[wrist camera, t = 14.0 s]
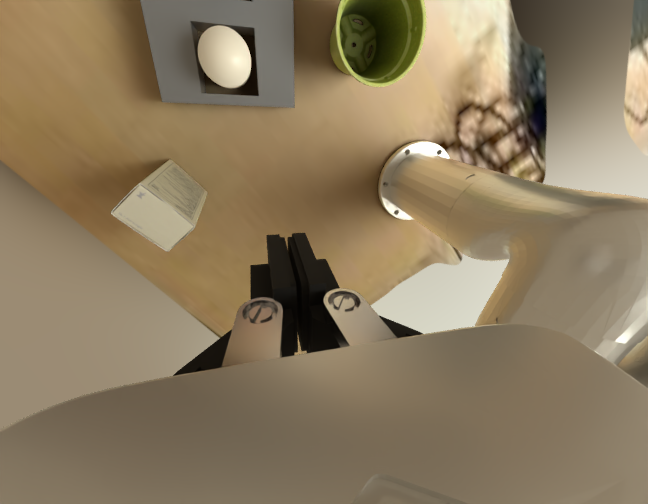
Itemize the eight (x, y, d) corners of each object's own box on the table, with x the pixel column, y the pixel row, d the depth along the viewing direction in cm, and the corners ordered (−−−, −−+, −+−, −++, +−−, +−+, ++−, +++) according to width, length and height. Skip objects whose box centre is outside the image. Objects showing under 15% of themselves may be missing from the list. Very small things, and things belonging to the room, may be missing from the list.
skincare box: (147, 179, 35) (104, 212, 25) (171, 156, 34) (137, 180, 24) (189, 213, 38) (166, 254, 28) (211, 192, 37) (196, 227, 27)
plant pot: (398, 9, 33) (441, -18, 25) (376, 97, 37) (408, 96, 29) (324, -18, 30) (349, -57, 22) (310, 80, 34) (327, 74, 27)
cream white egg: (248, 37, 29) (248, 28, 25) (252, 90, 31) (253, 88, 27) (200, 33, 28) (193, 22, 24) (208, 87, 30) (202, 85, 26)
